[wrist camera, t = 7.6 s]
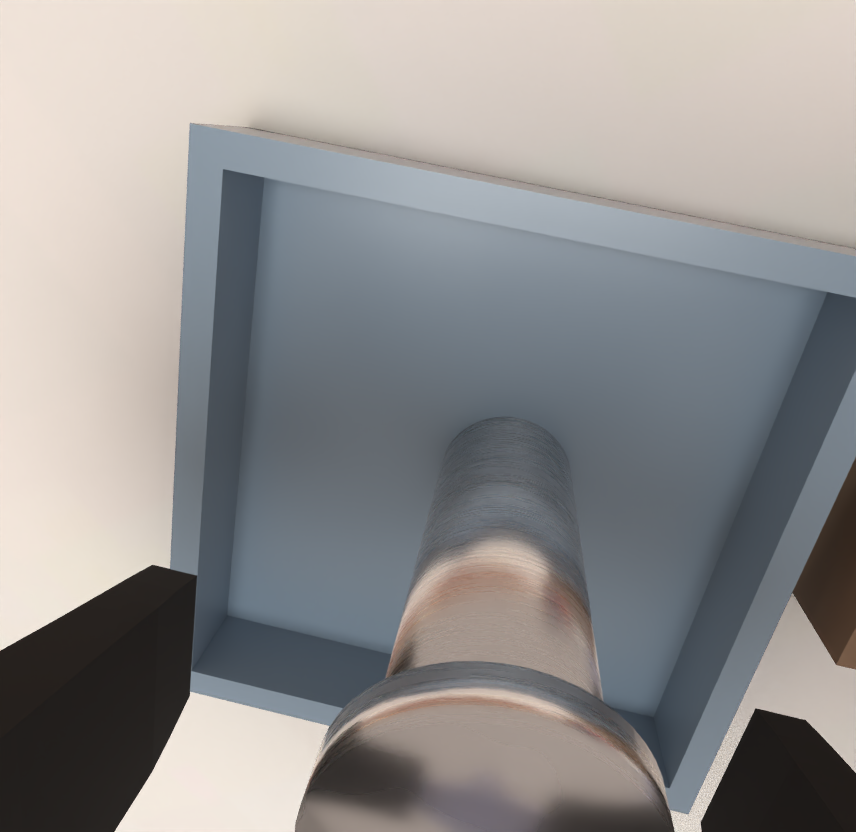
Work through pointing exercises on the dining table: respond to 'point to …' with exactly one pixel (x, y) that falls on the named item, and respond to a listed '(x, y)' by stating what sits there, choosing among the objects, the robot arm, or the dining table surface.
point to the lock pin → (490, 672)
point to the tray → (495, 397)
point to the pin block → (834, 578)
